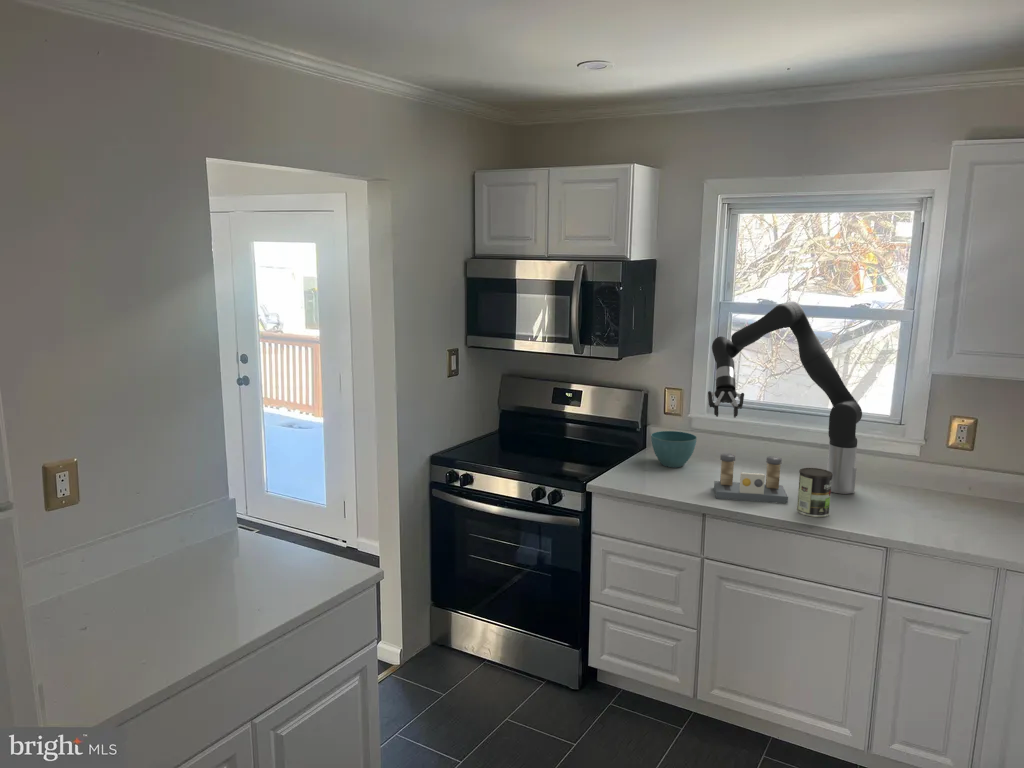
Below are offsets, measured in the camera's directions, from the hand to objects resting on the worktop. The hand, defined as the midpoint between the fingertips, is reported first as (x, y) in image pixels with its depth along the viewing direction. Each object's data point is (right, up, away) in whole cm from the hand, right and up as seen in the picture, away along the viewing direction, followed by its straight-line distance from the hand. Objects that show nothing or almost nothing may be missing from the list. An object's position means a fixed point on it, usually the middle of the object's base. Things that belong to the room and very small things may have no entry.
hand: (726, 415), depth 282 cm
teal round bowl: (-16, -21, +21) cm, 34 cm away
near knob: (+12, -25, -16) cm, 32 cm away
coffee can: (+19, -31, -34) cm, 50 cm away
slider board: (+3, -28, -17) cm, 33 cm away
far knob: (-4, -24, -13) cm, 28 cm away
